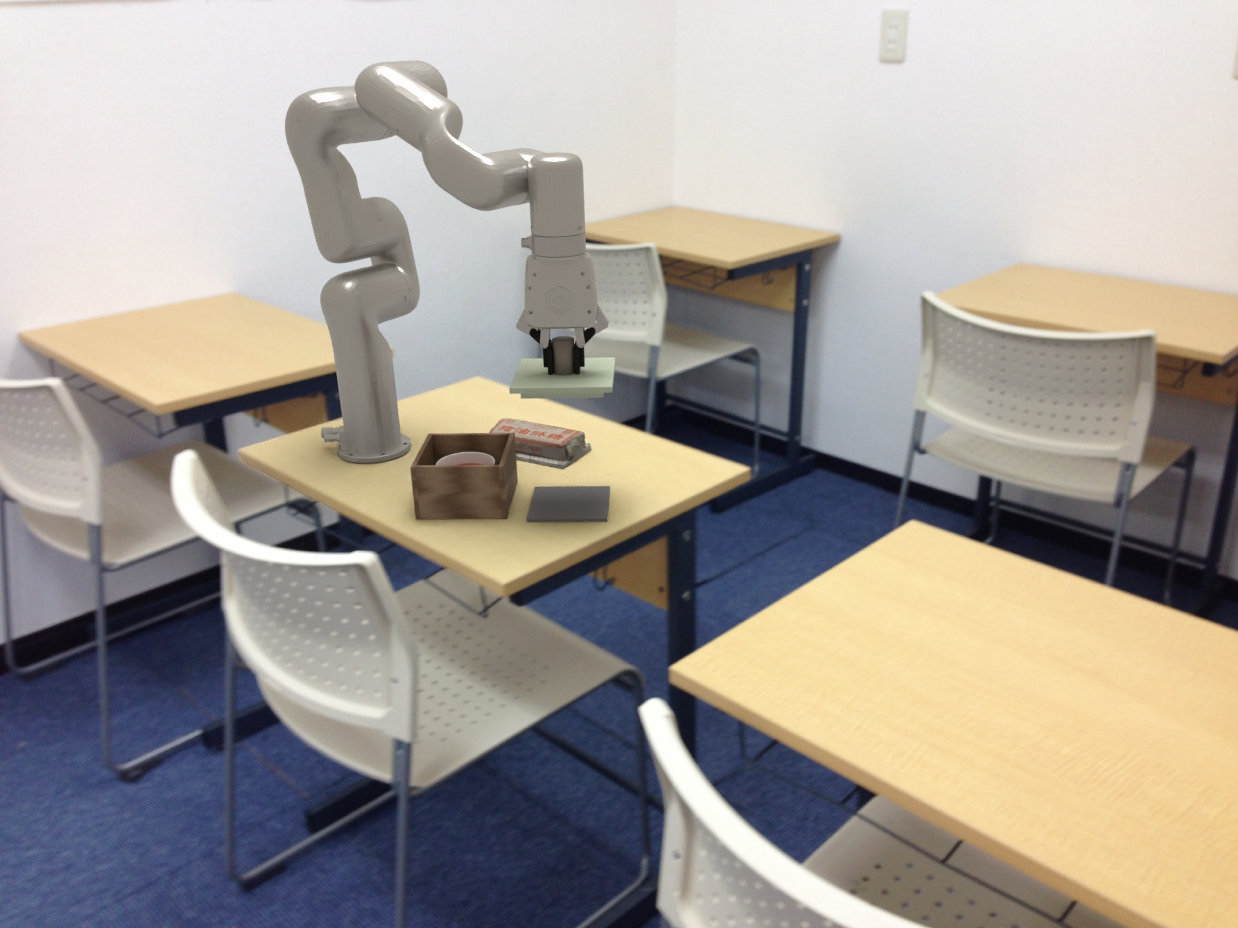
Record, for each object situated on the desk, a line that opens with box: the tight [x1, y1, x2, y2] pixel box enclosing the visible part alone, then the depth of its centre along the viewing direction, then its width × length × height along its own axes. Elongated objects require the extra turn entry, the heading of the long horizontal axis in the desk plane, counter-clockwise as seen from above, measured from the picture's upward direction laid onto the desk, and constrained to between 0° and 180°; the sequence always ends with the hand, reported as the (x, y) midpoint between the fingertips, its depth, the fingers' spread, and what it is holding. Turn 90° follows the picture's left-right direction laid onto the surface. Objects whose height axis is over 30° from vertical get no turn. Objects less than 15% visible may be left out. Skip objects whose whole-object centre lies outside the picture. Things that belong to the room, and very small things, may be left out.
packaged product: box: [488, 417, 592, 470], centre depth 181 cm, size 18×5×10 cm
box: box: [409, 432, 519, 520], centre depth 161 cm, size 14×14×8 cm
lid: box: [508, 335, 616, 400], centre depth 151 cm, size 14×14×7 cm
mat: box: [526, 485, 611, 523], centre depth 160 cm, size 12×12×1 cm
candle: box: [436, 452, 495, 465], centre depth 162 cm, size 9×9×6 cm
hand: (564, 370), depth 152 cm, fingers closed on lid, 3 cm apart
